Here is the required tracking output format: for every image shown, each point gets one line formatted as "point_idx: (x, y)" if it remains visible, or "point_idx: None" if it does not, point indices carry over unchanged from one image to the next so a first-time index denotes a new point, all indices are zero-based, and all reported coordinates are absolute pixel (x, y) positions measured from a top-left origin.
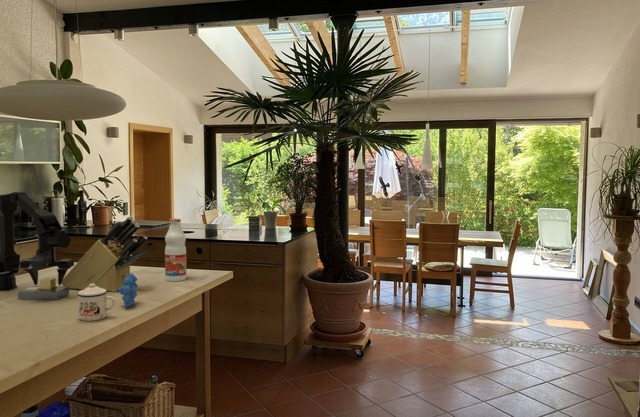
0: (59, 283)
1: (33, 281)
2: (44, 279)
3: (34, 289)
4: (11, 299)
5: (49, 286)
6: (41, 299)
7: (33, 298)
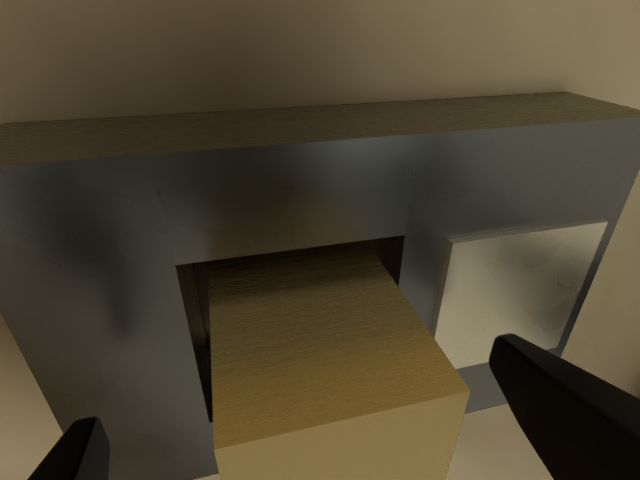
0: (54, 452)
1: (577, 368)
2: (403, 457)
3: (471, 259)
4: (636, 95)
5: (231, 324)
6: (276, 110)
7: (393, 106)
